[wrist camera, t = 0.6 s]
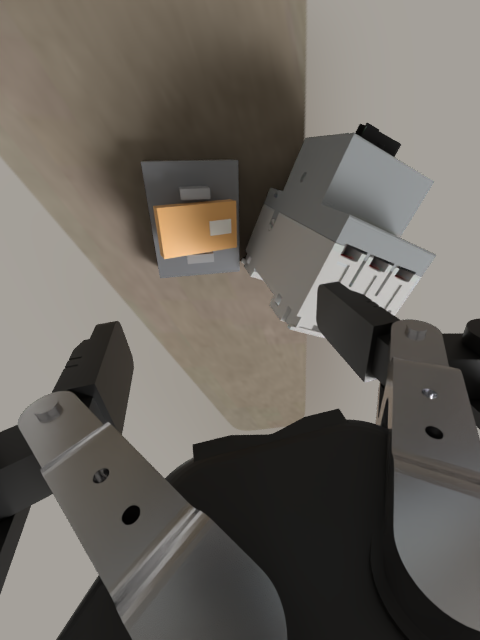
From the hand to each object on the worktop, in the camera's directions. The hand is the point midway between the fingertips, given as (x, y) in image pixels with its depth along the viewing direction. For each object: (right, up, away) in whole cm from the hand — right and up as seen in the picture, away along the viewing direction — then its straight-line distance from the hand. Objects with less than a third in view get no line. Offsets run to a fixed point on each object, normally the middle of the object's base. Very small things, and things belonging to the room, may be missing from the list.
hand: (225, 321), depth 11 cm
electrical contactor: (+7, +12, +19) cm, 24 cm away
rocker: (-4, +8, +14) cm, 16 cm away
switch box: (-4, +10, +17) cm, 20 cm away
